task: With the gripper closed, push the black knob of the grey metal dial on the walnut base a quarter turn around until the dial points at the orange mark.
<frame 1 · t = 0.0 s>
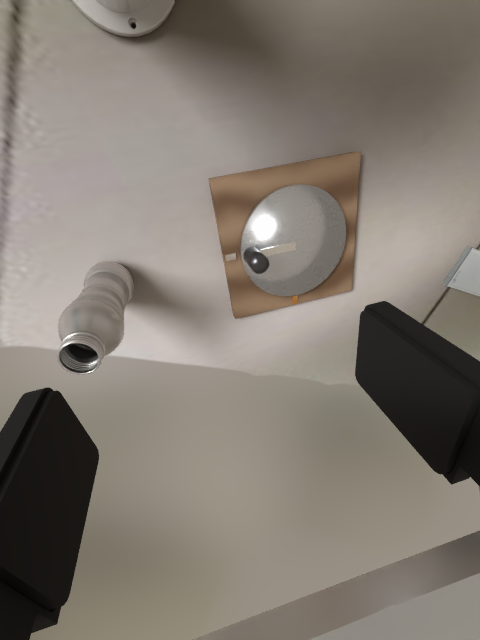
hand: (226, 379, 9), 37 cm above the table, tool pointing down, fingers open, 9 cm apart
dial base: (288, 241, 46), on the table
plastic bottle: (113, 278, 43), on the table
dial: (299, 248, 42), point 5 cm above the table, hinge at 0.0°
hard drive: (471, 271, 59), on the table
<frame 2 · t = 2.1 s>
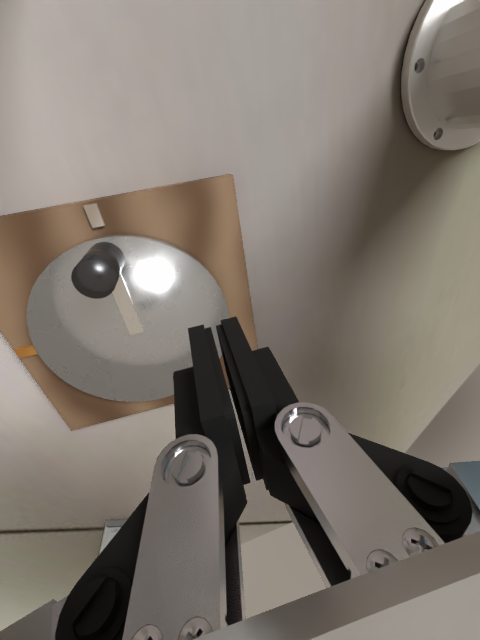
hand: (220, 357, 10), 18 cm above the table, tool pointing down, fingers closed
dial base: (139, 316, 28), on the table
dial: (135, 342, 24), point 5 cm above the table, hinge at 0.0°
hard drive: (128, 534, 48), on the table
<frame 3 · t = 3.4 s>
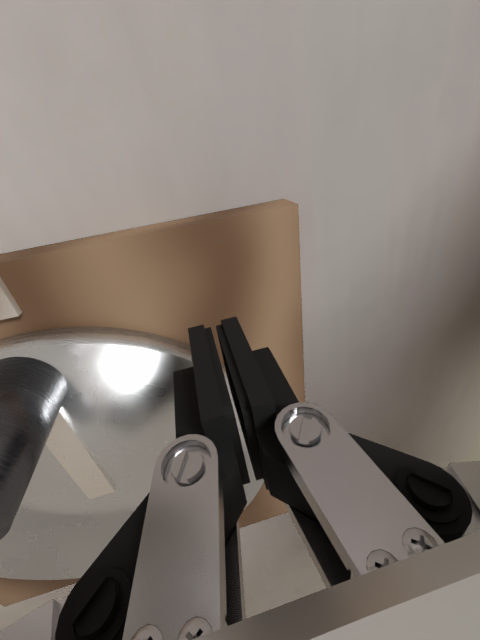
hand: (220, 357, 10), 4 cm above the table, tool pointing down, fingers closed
dial base: (112, 440, 16), on the table
dial: (96, 529, 12), point 5 cm above the table, hinge at 0.0°
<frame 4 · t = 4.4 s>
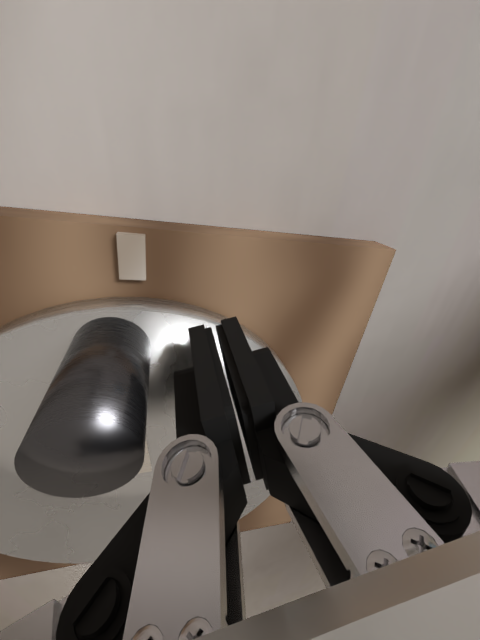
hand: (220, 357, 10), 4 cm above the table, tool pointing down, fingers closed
dial base: (142, 422, 16), on the table
dial: (136, 505, 12), point 5 cm above the table, hinge at 5.5°, touching gripper
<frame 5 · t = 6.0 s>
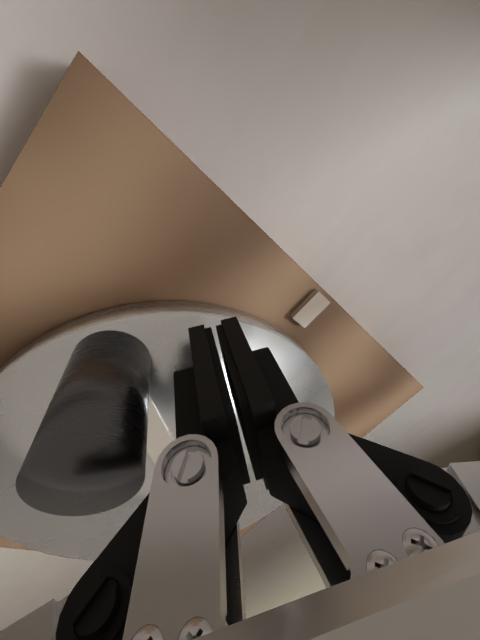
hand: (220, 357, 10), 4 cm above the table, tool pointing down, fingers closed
dial base: (172, 421, 16), on the table
dial: (176, 503, 13), point 5 cm above the table, hinge at 54.5°, touching gripper
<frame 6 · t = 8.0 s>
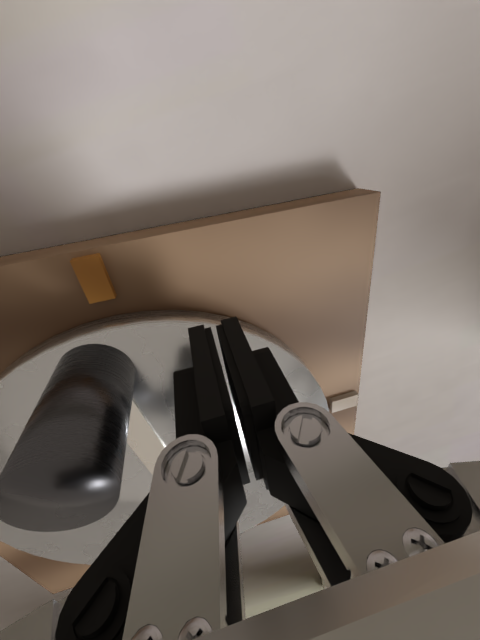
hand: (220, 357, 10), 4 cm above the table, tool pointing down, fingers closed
dial base: (169, 427, 16), on the table
dial: (171, 509, 13), point 5 cm above the table, hinge at 96.8°
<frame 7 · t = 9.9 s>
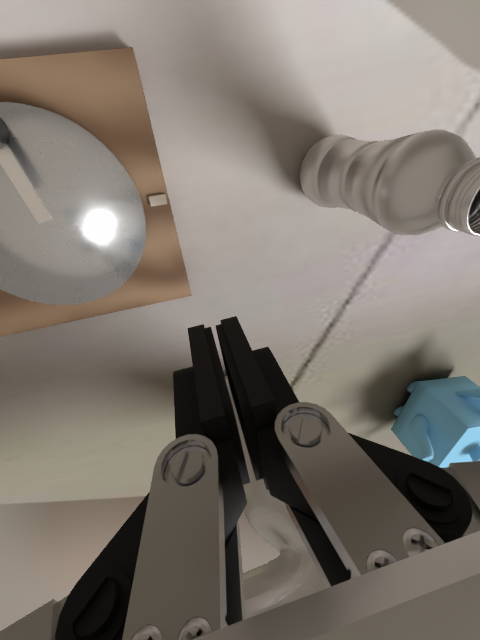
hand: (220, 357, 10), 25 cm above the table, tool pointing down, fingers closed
teakettle: (417, 399, 62), on the table
dial base: (55, 214, 28), on the table
plastic bottle: (319, 170, 32), on the table
dial: (39, 225, 24), point 5 cm above the table, hinge at 96.8°
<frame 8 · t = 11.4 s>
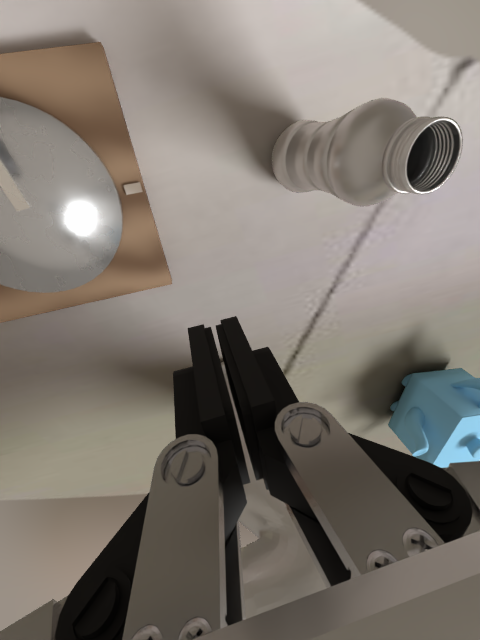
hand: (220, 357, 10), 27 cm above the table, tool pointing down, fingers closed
teakettle: (414, 394, 61), on the table
dial base: (36, 204, 29), on the table
plastic bottle: (292, 158, 33), on the table
dial: (16, 212, 25), point 5 cm above the table, hinge at 96.8°
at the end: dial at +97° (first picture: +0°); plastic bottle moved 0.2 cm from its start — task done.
